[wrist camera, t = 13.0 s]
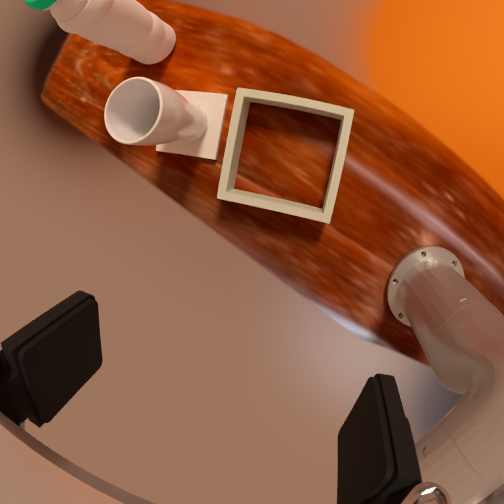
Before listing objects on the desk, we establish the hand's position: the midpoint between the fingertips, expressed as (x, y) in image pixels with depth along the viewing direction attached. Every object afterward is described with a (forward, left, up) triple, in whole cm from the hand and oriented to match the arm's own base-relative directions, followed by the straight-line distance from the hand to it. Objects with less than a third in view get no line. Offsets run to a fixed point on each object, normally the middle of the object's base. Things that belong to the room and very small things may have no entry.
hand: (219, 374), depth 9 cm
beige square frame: (+2, -7, -33) cm, 34 cm away
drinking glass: (+15, -9, -33) cm, 37 cm away
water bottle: (+24, -21, -34) cm, 46 cm away
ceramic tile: (+16, -9, -33) cm, 38 cm away
